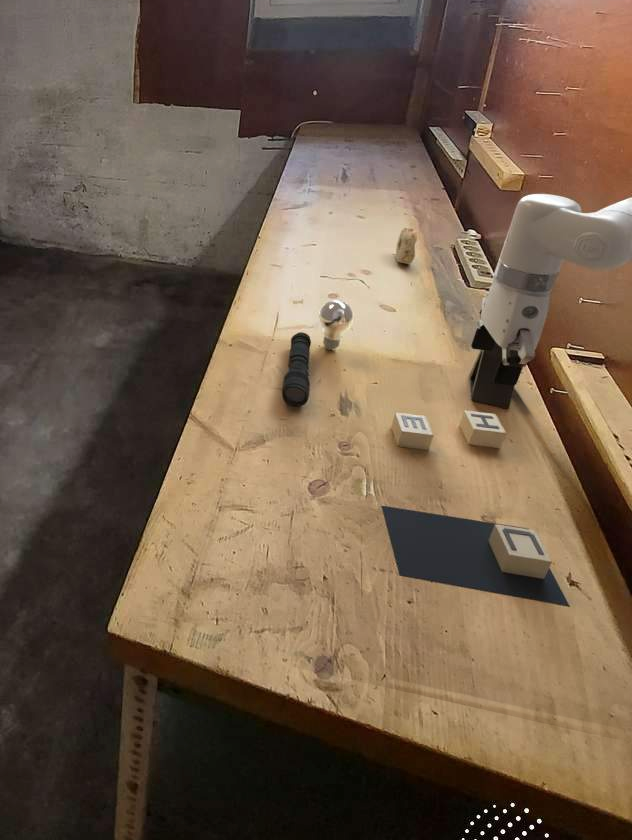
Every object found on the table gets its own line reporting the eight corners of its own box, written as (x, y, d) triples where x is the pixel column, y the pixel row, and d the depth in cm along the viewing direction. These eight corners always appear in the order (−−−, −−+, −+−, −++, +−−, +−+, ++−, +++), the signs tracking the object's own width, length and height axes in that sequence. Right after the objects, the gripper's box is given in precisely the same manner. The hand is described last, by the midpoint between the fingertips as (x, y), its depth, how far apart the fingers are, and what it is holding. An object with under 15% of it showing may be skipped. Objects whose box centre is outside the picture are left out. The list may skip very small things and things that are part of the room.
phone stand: (508, 409, 106) (527, 357, 100) (470, 400, 108) (488, 348, 103) (504, 383, 113) (522, 333, 107) (469, 375, 115) (485, 325, 110)
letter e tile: (421, 430, 102) (425, 415, 100) (429, 450, 97) (433, 434, 96) (391, 427, 103) (395, 411, 101) (397, 446, 98) (401, 430, 97)
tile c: (527, 547, 80) (535, 529, 78) (544, 579, 75) (552, 561, 74) (488, 540, 81) (495, 523, 79) (501, 571, 76) (509, 554, 75)
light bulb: (347, 359, 122) (357, 312, 116) (313, 354, 124) (321, 307, 118) (345, 342, 128) (355, 296, 122) (313, 338, 130) (321, 292, 124)
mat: (528, 530, 82) (529, 528, 82) (569, 608, 72) (570, 606, 72) (380, 507, 87) (381, 505, 87) (399, 577, 77) (399, 575, 76)
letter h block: (489, 429, 101) (495, 413, 100) (500, 448, 97) (506, 432, 95) (458, 425, 103) (464, 409, 101) (468, 444, 98) (473, 428, 97)
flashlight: (279, 404, 109) (282, 383, 107) (287, 347, 127) (290, 328, 124) (307, 409, 108) (310, 389, 105) (311, 351, 125) (314, 332, 123)
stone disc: (392, 253, 169) (399, 222, 164) (406, 254, 168) (413, 223, 163) (397, 268, 160) (405, 235, 156) (412, 269, 159) (420, 237, 155)
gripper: (582, 305, 78) (541, 401, 86) (527, 253, 93) (497, 339, 101) (520, 300, 80) (486, 395, 87) (477, 250, 94) (450, 335, 102)
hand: (491, 365), depth 94 cm, fingers open, 9 cm apart
